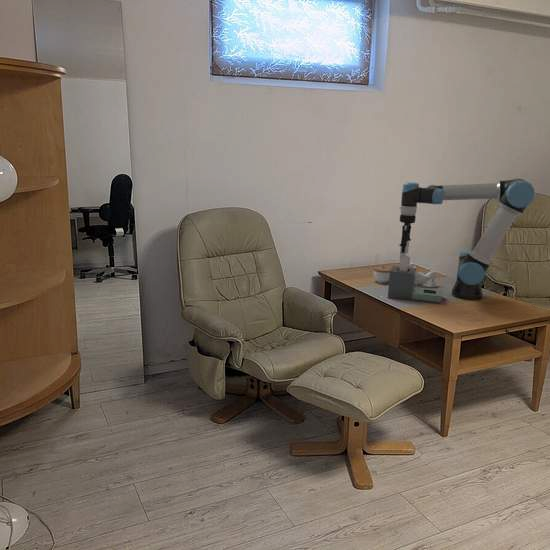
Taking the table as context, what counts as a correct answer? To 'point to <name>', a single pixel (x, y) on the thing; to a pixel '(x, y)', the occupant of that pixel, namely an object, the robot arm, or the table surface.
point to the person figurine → (424, 276)
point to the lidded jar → (381, 273)
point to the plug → (404, 263)
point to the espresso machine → (410, 287)
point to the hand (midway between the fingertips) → (403, 256)
